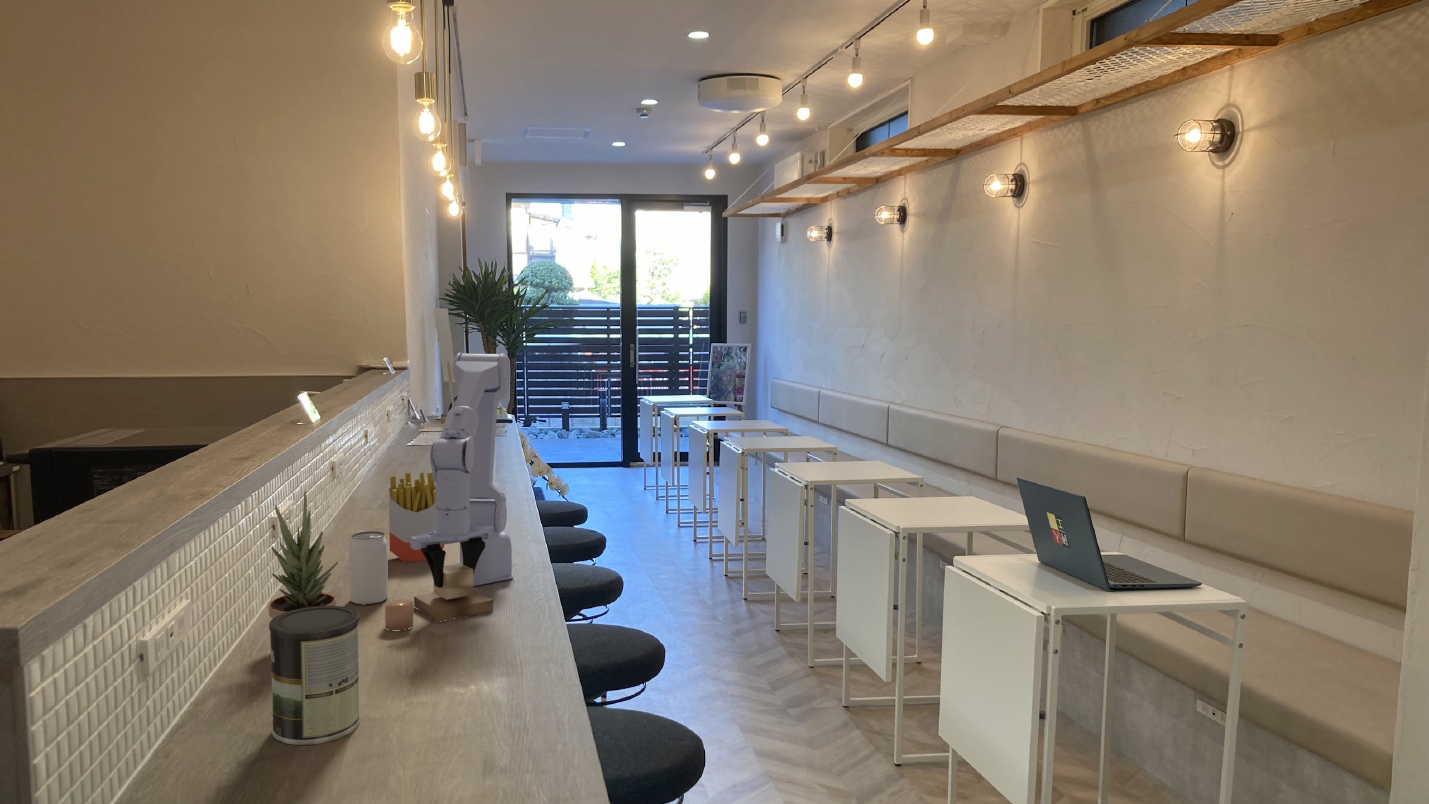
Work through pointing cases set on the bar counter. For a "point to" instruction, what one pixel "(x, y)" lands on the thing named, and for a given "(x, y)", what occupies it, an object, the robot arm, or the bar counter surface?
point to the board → (453, 605)
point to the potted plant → (300, 570)
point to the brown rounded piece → (399, 614)
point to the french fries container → (411, 514)
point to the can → (368, 567)
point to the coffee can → (314, 674)
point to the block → (456, 582)
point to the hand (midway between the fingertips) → (453, 583)
